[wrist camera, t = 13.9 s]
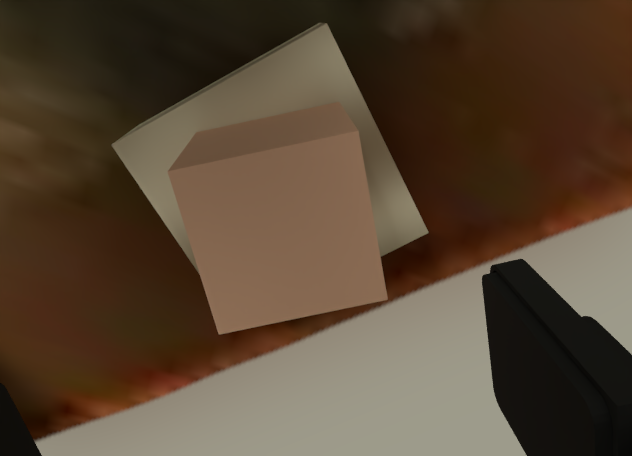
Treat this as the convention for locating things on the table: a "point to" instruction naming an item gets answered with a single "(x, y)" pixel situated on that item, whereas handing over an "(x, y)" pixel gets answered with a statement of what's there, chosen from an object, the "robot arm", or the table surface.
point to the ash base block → (264, 101)
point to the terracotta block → (280, 217)
